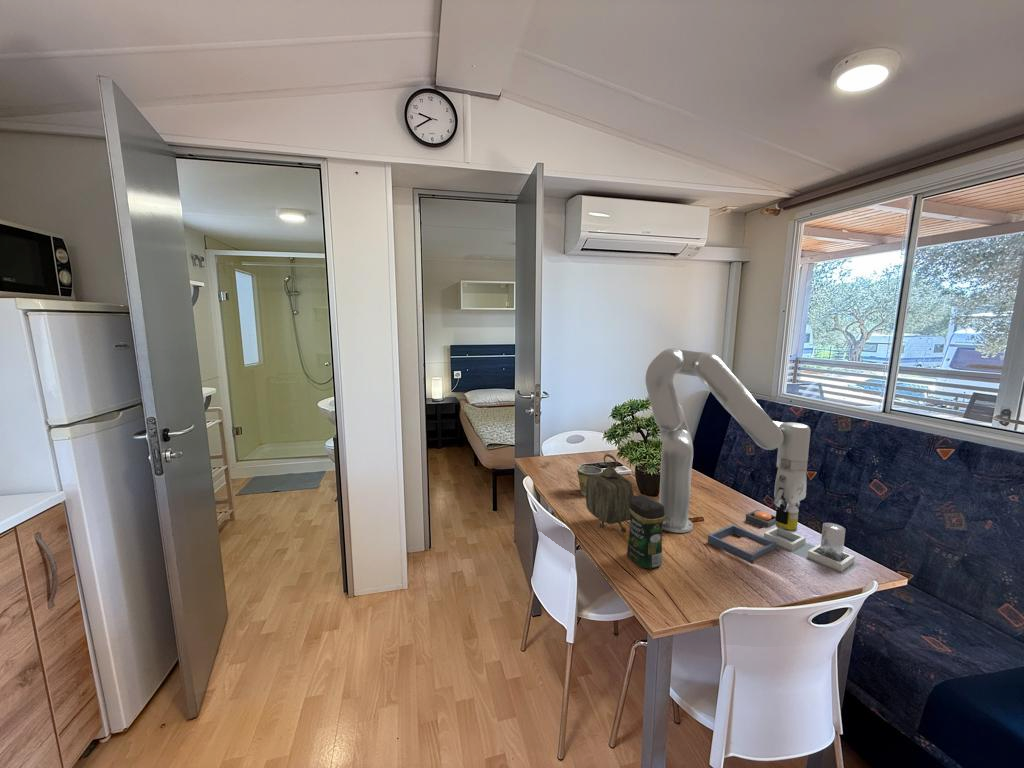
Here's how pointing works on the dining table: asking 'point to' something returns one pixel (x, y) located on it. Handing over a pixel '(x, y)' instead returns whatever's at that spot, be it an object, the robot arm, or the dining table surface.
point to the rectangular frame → (716, 541)
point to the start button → (762, 515)
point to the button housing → (759, 520)
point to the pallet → (809, 550)
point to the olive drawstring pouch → (609, 496)
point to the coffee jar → (645, 531)
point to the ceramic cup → (586, 475)
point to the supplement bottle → (789, 519)
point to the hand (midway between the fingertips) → (786, 519)
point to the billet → (832, 541)
